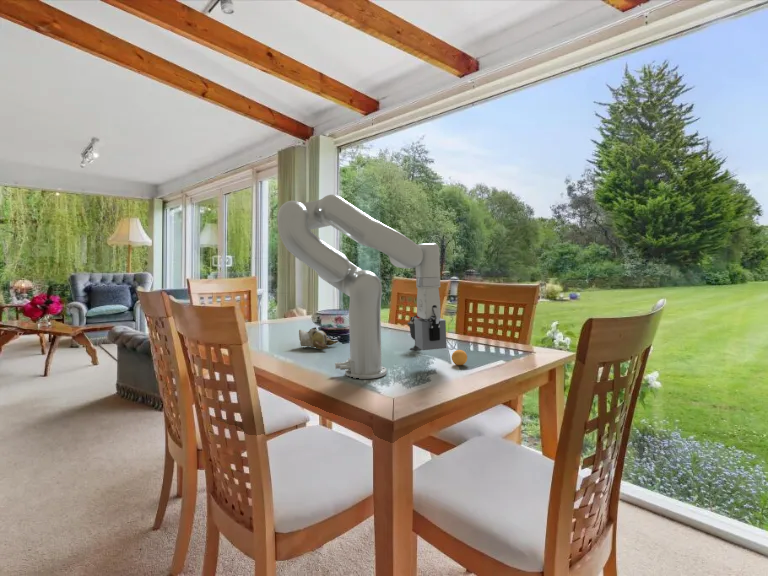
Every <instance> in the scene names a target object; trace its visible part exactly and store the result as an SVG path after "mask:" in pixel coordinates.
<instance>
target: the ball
mask: <svg viewBox="0 0 768 576" xmlns="http://www.w3.org/2000/svg"><path fill="white" fill-rule="evenodd" d="M451 360H452V363H453V364H454V365H456V366H463V365H465V364H466V363H467V361H468V355H467V353H466V351H464V350H463V349H457V350H455V351H453V352H452V354H451Z"/></svg>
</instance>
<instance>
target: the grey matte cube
mask: <svg viewBox="0 0 768 576" xmlns="http://www.w3.org/2000/svg"><path fill="white" fill-rule="evenodd" d="M431 318H433V317H431ZM414 321H415V340H414V346H415V345H416V346H417V347H419V348H420V349H422V350H421V351H428V350H429V351H431V350H440V349H441V350H443V349H447V325H446V323H447V321H446V319H444V318H442V317H440V340H437V341H430V336H429V328H430V321H429V319H428V320H424V319H422V318H415V319H414ZM432 323H433V321H432Z"/></svg>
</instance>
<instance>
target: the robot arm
mask: <svg viewBox="0 0 768 576" xmlns="http://www.w3.org/2000/svg"><path fill="white" fill-rule="evenodd" d="M276 219H277V228H278V233H279V237H280V240H281V243H282V244H283V246H284V247H285V248H286V250H287V251H288V252H289V253H290V254H292V255H293V256H294V257H295V258H296V259H298V260H299V261H300V262H302V263H303V264H304V265H306V266H308V267H309V268H310V269H312V270H313V271H315V272H316V274H317V276H318V277H320V279H322V280H323V281H325V282H326V283H328V284H329V285H331V286H332V287H334V288H335V289H337V290H338V291H340V292H342V294H344V295H346V296H348V297H349V305H348V309H349V310H348V322H349V325H348V326H349V354H350V357H348V358H347V359H348V360H345V362H339V361H338V362H335V363H334V368H335V370H340V371H344V370H345V376H347V377H348V376H350V377H349V378H351V377H353V378H352V379H356V378H359V379H358V380H370V379H371V380H372V379H377V378H381V377H384V376H386V375H387V374H388V371H387V370H388V369H387V368H386V367H385V366H383V364H382V326H381V325H382V324H381V321H382V320H381V305H382V295H383V286H382V283H381V279H380V278H379V277H378V275H377V274H376V273H374V272H372V271H370V270H367V269H362V268H360V267H358V266H357V265H355V264H354V263H352V262H351V261H350V260H349V258H348V257H347V256H346V254H345V253H343V252H341V251H340V250H337V249H335V248H334V247H333V246H331V245H330V244H328V243H326V242H325V241H324V240H322V239H321V238H320V237H318V236H317V235H316V234H315V233H314V232H312V230H315V229H320V228H325V227H329V226H331V227H333V228H334V229H336V230H337V231H339V232H340V233H342V234H343V235H346V236H347V238H350V239H351V240H353V241H355V242H356V243H357V244H359V245H362V246H365V247H367V248H371V249H374V250H377V251H379V252H381V253H383V254H385V255H387V256H388V259H389V263H391V264H392V266H394V267H395V268H399V269H400V268H401V269H415V277H416V278H415V280H416V281H415V282H416V283H415V284H416V286H415V287H416V289H417V291H416V294H417V295H416V315H417V316H418V317H420V318H422V319H424V320H428V319H429V321H430V328H429V336H430V341H437V340H440V318H441V300H440V299H441V297H440V290H439V288H441V271H440V270H441V268H440V247H439V245H438V244H437V243H435V242H432V243H431V242H429V243H419V244H417V243H416V242H414V240H412V239H410V238H408V237H407V236H405V235H404V234H403V233H401V232H399V231H397V230H395V229H393V228H392V227H390V226H388V225H386V224H384V223H382V222H381V221H379V220H377V219H376V218H373V217H371V216H370V215H369V214H367V213H366V212H363V211H362V210H361V209H359V208H358V207H356V206H355V205H353V204H352V203H350V202H348V201H347V200H345V199H344V198H342V197H341V196H339V195H336V194H327V195H325V196H323V197H322V198H321V199H317V200H312V201H307V202H300V201H298V200H288V201H285V202H283V204H282V205H281V206H280V207H279V209H278V213H277V217H276ZM431 317H433V318H431ZM432 321H433V323H432Z"/></svg>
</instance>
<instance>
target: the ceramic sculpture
mask: <svg viewBox="0 0 768 576" xmlns="http://www.w3.org/2000/svg"><path fill="white" fill-rule="evenodd" d="M298 339H299V341H300V342H299V343H300V346H308V347H309V346H311V347H310V348H312V347H316V348H318V349H317V350H324V349H325V350H326V349H328V348H329V346H332V345H335V344H337V343H338V342H339V340H332V339H331V338H328V335H327V333H326V332H325V331H323V330H318V328H317V327H312V328H311V329H309V330H308V331H306V330H304V329H303V330H302V329H299V330H298Z"/></svg>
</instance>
